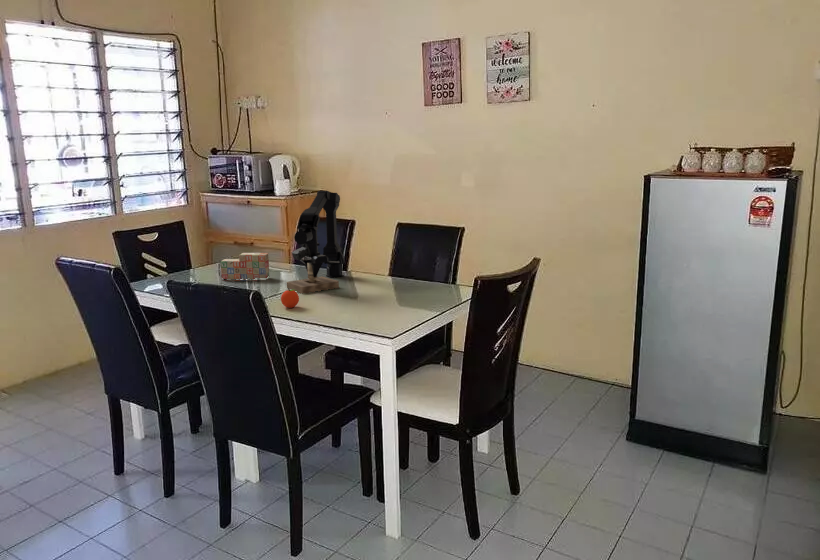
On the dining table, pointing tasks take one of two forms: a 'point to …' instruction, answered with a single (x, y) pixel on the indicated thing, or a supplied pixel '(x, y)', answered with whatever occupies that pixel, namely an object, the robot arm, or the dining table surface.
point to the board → (313, 285)
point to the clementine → (290, 298)
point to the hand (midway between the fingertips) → (312, 276)
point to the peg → (310, 273)
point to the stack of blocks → (246, 266)
